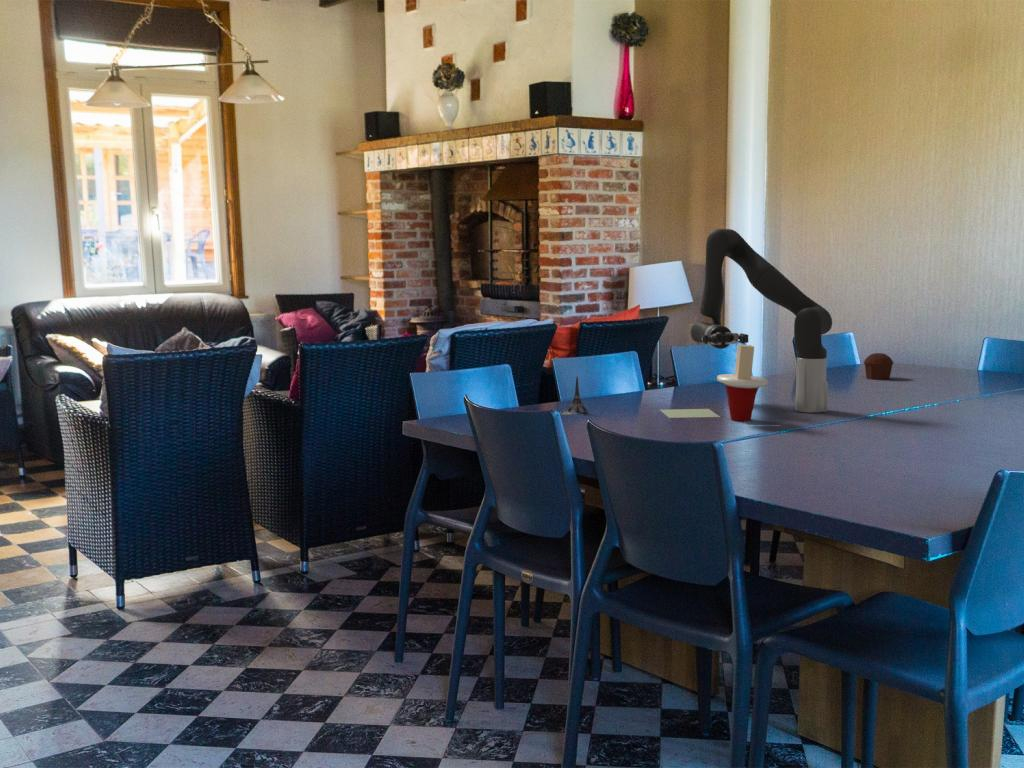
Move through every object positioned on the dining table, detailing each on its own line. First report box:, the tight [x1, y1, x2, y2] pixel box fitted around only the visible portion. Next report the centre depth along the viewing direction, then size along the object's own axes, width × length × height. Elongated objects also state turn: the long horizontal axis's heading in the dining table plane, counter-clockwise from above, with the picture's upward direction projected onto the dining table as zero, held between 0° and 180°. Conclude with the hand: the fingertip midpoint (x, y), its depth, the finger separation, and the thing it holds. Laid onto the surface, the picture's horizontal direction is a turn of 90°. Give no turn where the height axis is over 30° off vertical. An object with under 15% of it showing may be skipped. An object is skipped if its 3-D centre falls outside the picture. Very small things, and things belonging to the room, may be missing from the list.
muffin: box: [863, 352, 894, 381], centre depth 410 cm, size 12×11×10 cm
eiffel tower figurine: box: [559, 375, 590, 416], centre depth 333 cm, size 15×10×13 cm
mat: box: [659, 408, 721, 419], centre depth 326 cm, size 16×16×1 cm
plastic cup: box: [723, 383, 760, 423], centre depth 312 cm, size 11×11×12 cm
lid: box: [716, 343, 769, 388], centre depth 310 cm, size 15×15×11 cm
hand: (730, 340), depth 323 cm, fingers open, 8 cm apart
